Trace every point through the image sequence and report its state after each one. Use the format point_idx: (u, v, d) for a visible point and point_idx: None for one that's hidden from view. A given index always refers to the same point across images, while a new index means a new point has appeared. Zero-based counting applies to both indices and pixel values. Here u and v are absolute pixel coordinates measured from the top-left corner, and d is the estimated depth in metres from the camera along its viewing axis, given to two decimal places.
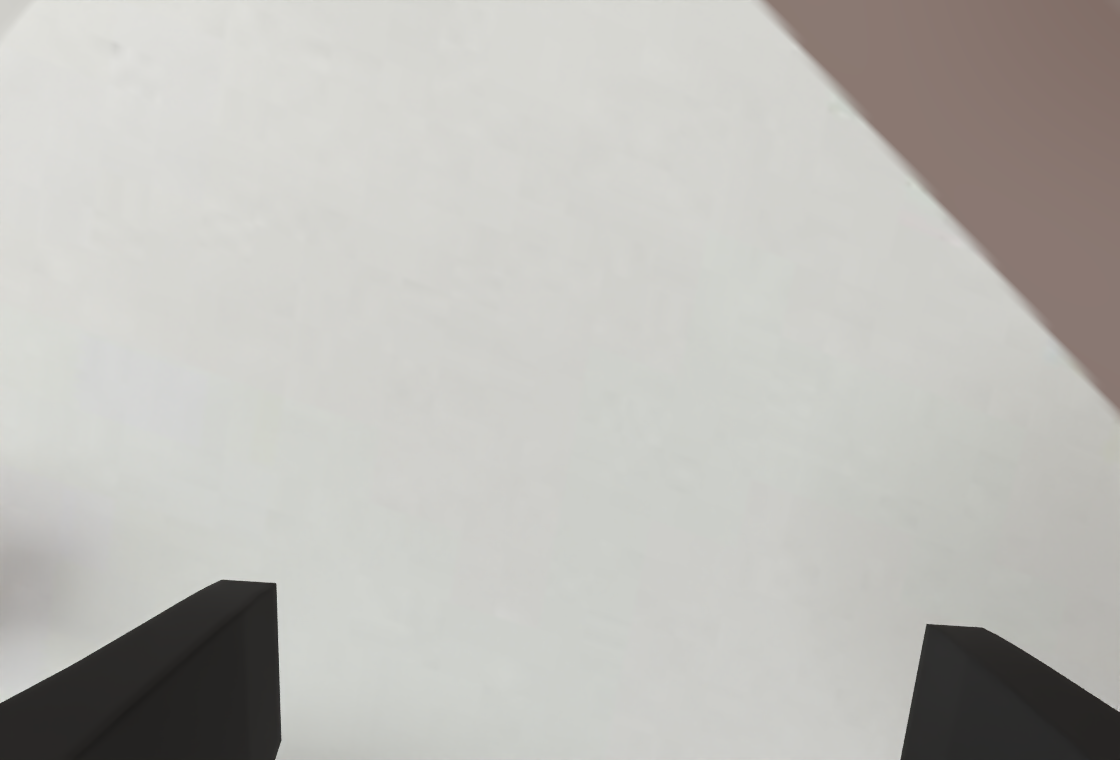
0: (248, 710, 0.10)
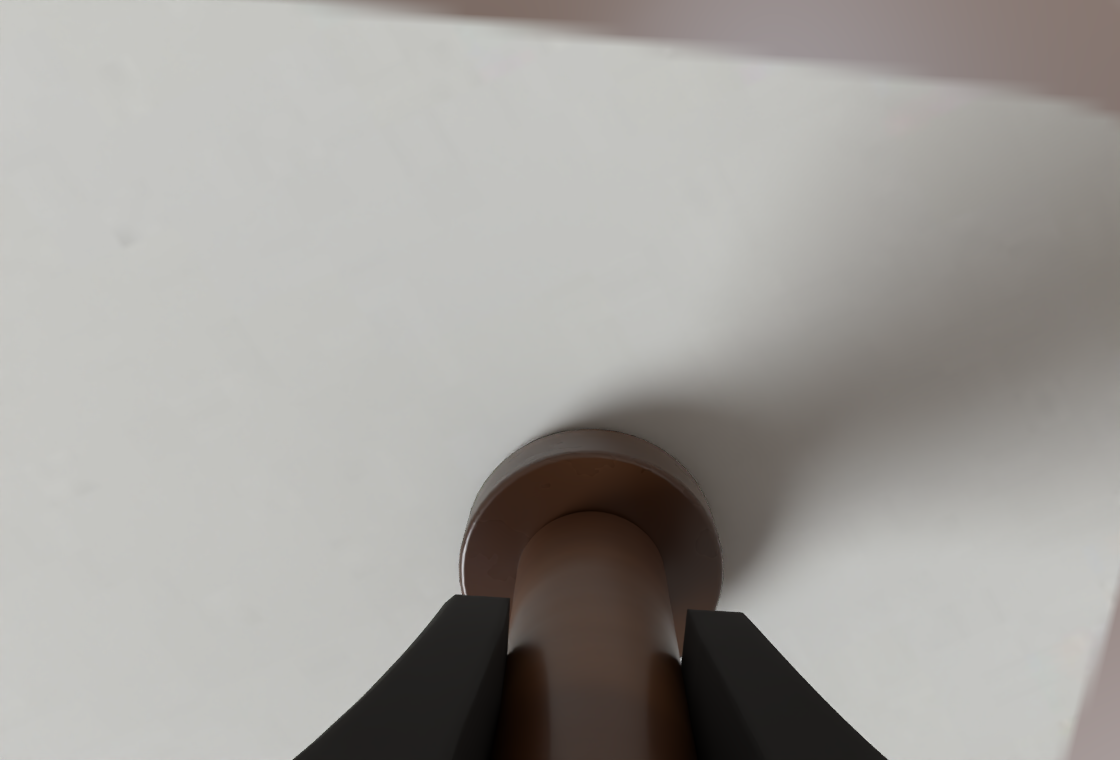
0: None
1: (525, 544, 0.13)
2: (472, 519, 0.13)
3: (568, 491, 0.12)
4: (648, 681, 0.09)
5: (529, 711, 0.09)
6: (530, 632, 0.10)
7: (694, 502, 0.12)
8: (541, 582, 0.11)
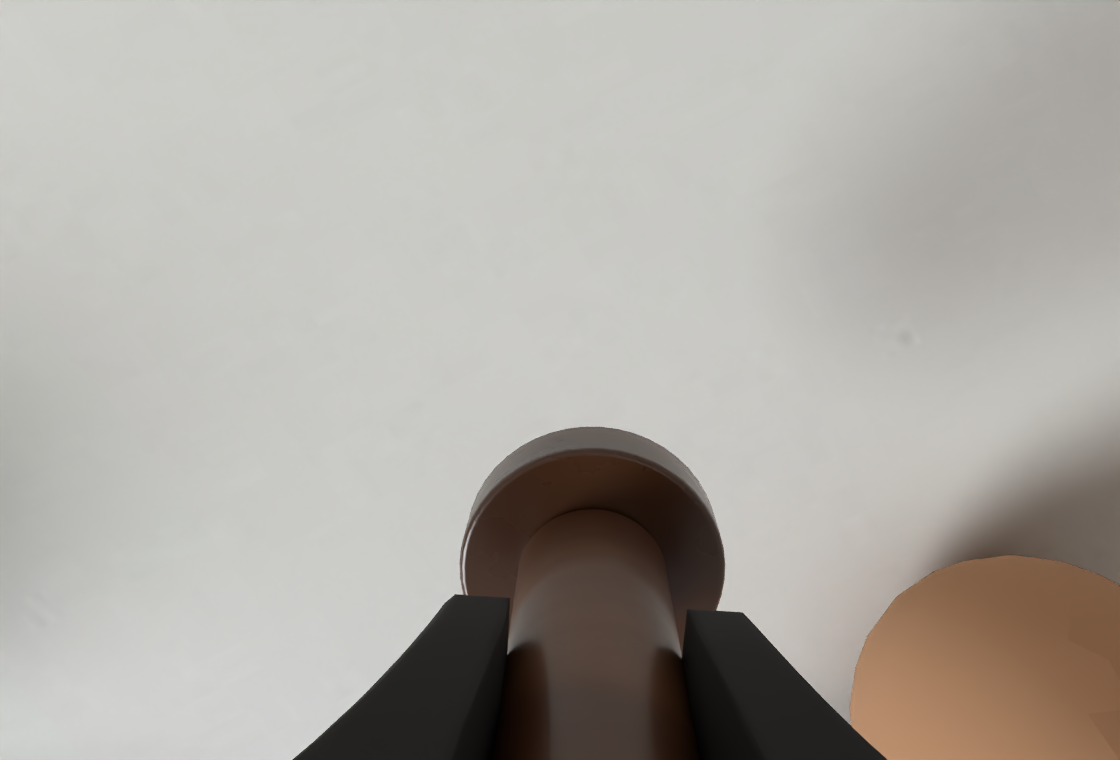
0: None
1: (526, 542, 0.13)
2: (473, 517, 0.13)
3: (569, 489, 0.12)
4: (651, 679, 0.09)
5: (531, 708, 0.09)
6: (530, 629, 0.10)
7: (696, 501, 0.12)
8: (541, 579, 0.11)
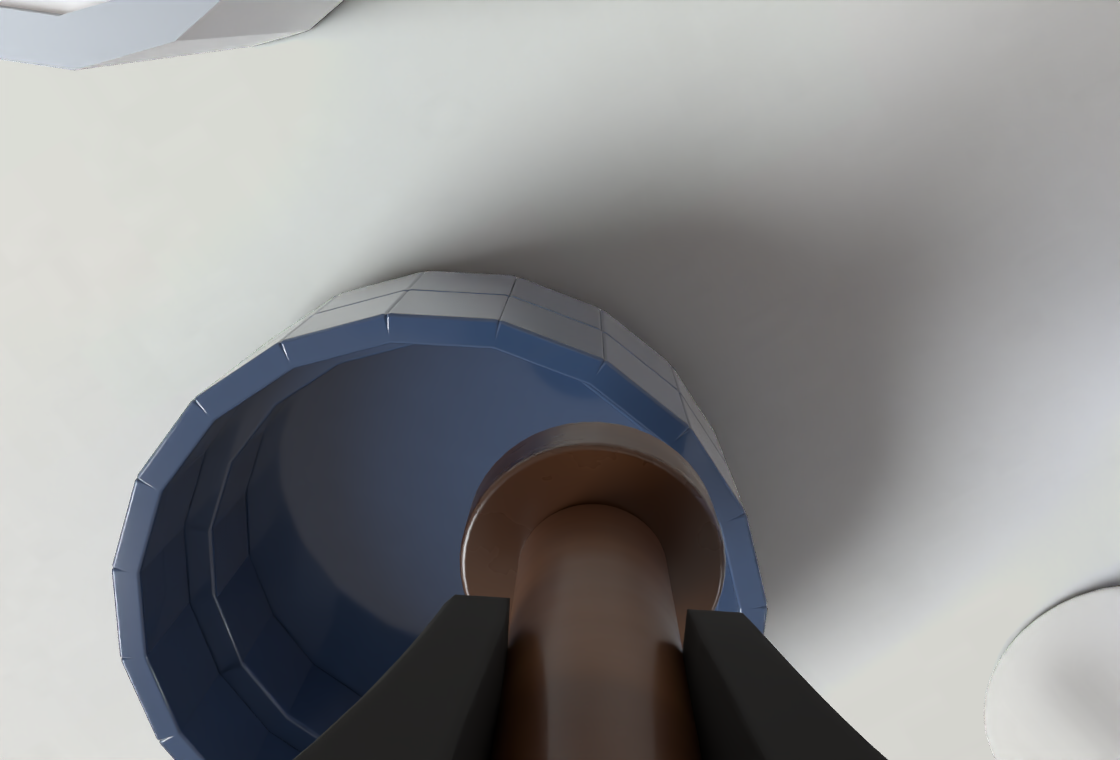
0: None
1: (526, 537, 0.13)
2: (473, 512, 0.13)
3: (570, 484, 0.12)
4: (651, 672, 0.09)
5: (531, 702, 0.09)
6: (530, 624, 0.10)
7: (696, 496, 0.12)
8: (541, 574, 0.11)
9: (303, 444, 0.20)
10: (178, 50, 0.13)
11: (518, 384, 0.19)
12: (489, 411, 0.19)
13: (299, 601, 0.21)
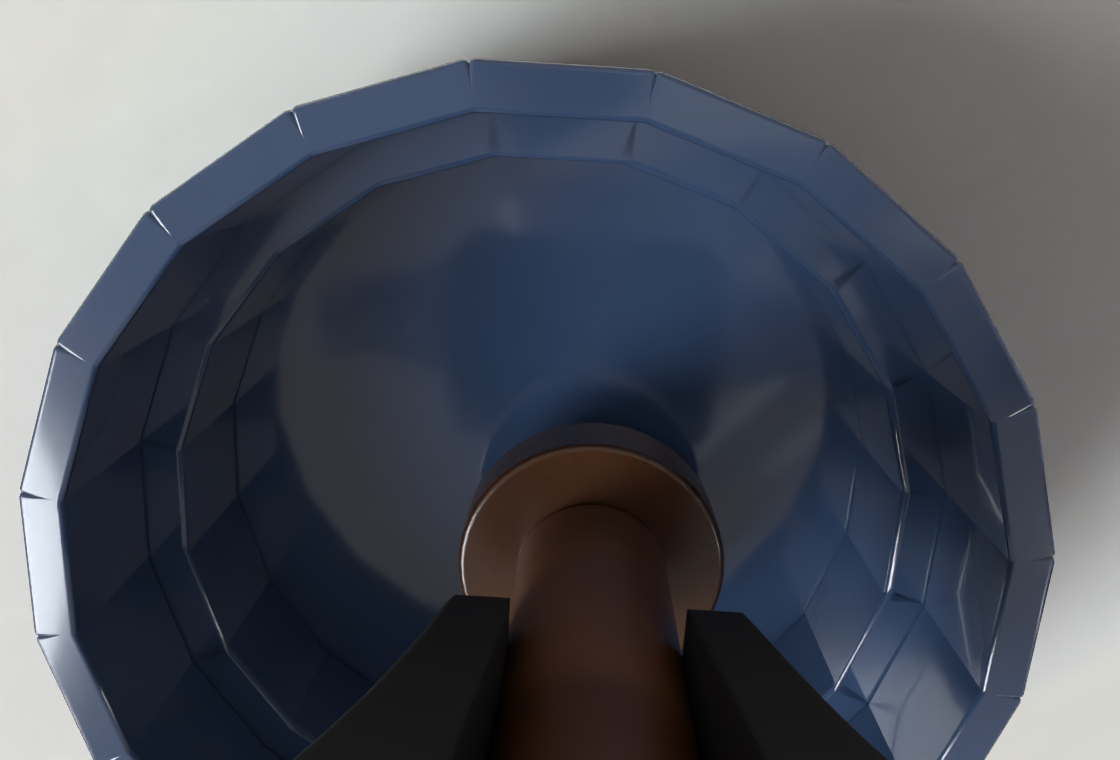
0: None
1: (525, 538, 0.13)
2: (471, 513, 0.13)
3: (568, 484, 0.12)
4: (649, 674, 0.09)
5: (529, 703, 0.09)
6: (529, 625, 0.10)
7: (695, 496, 0.12)
8: (540, 574, 0.11)
9: (317, 334, 0.14)
10: None
11: (630, 245, 0.13)
12: (586, 286, 0.14)
13: (308, 563, 0.15)
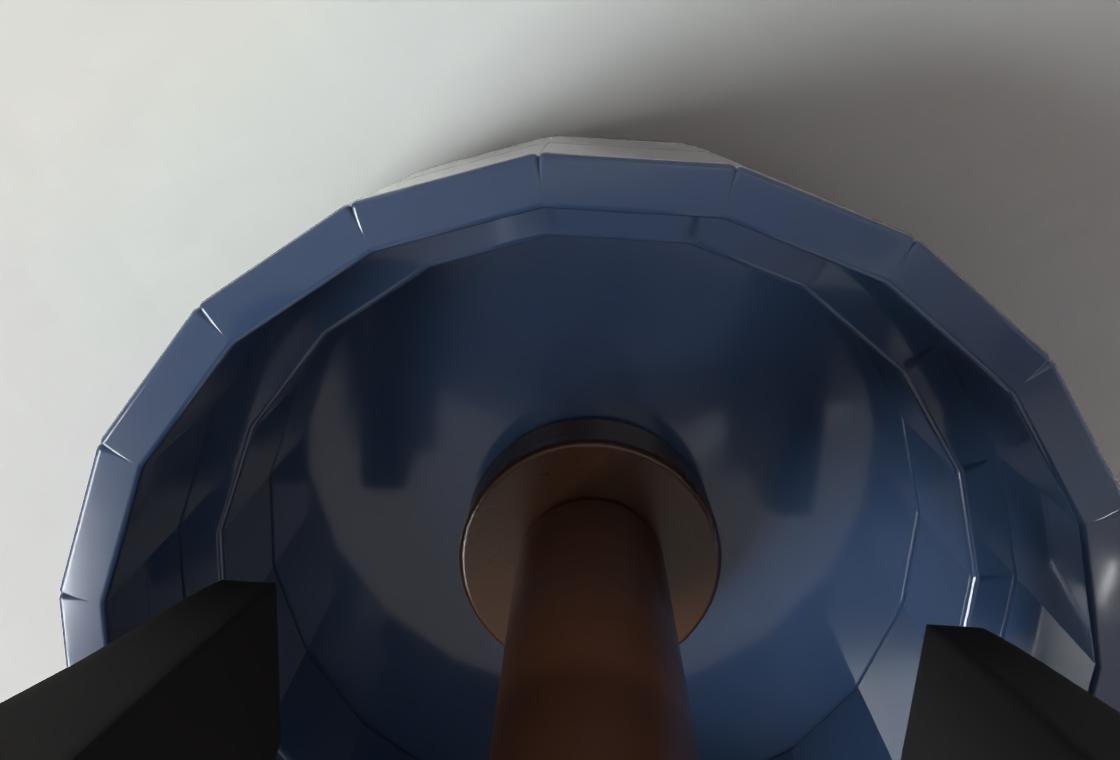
0: (248, 710, 0.10)
1: (525, 532, 0.13)
2: (472, 507, 0.13)
3: (567, 479, 0.13)
4: (647, 664, 0.09)
5: (530, 691, 0.09)
6: (530, 616, 0.10)
7: (693, 492, 0.13)
8: (540, 567, 0.11)
9: (357, 404, 0.13)
10: None
11: (683, 314, 0.13)
12: (637, 355, 0.13)
13: (345, 635, 0.14)
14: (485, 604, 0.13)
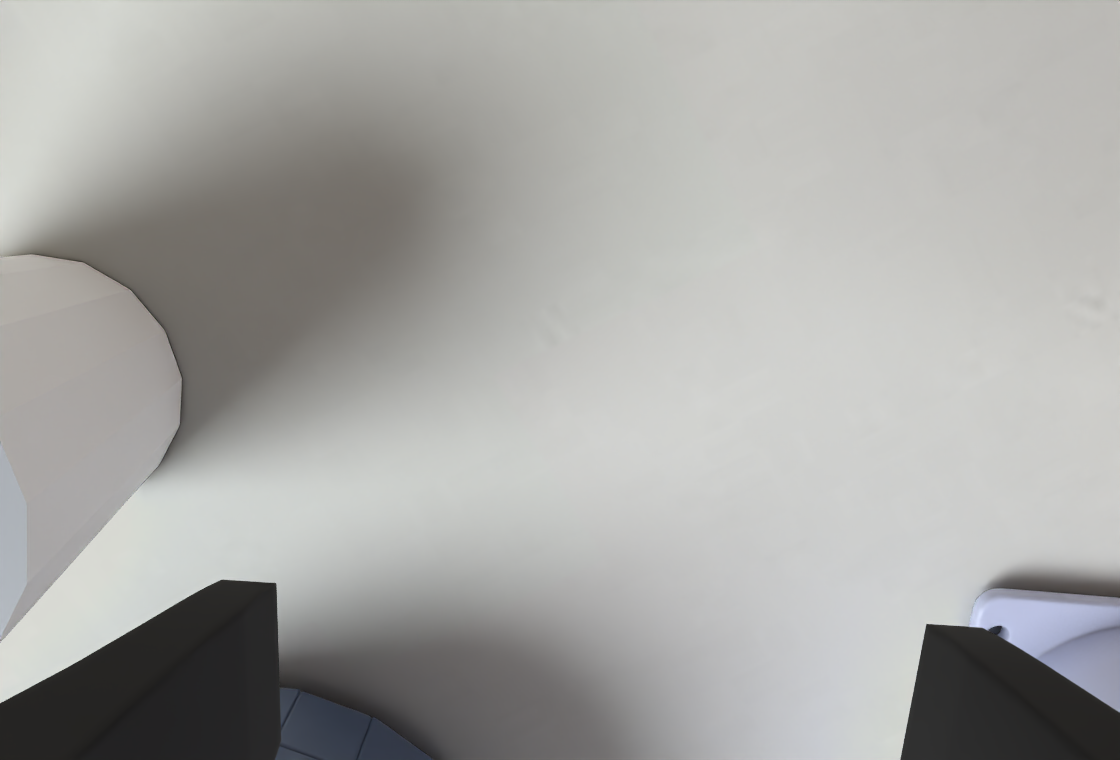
0: (248, 710, 0.10)
1: None
2: None
3: None
4: None
5: None
6: None
7: None
8: None
9: None
10: None
11: None
12: None
13: None
14: None
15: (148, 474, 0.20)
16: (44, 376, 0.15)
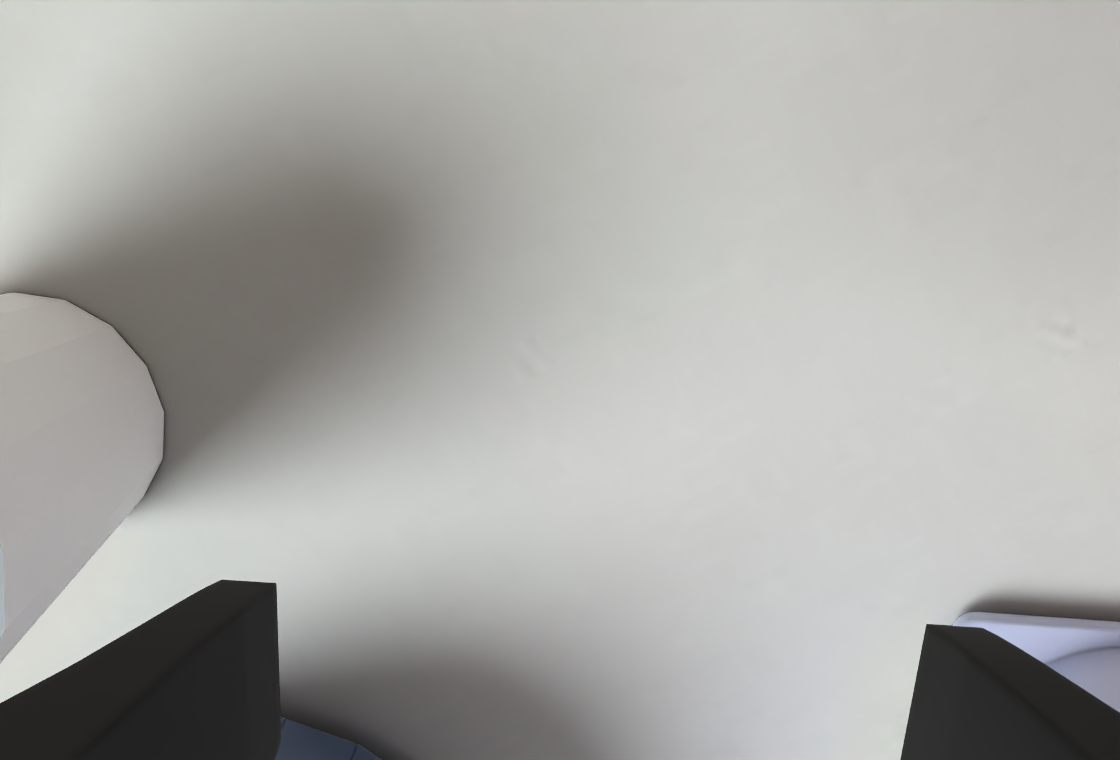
0: (248, 710, 0.10)
1: None
2: None
3: None
4: None
5: None
6: None
7: None
8: None
9: None
10: None
11: None
12: None
13: None
14: None
15: (131, 508, 0.21)
16: (22, 421, 0.16)
